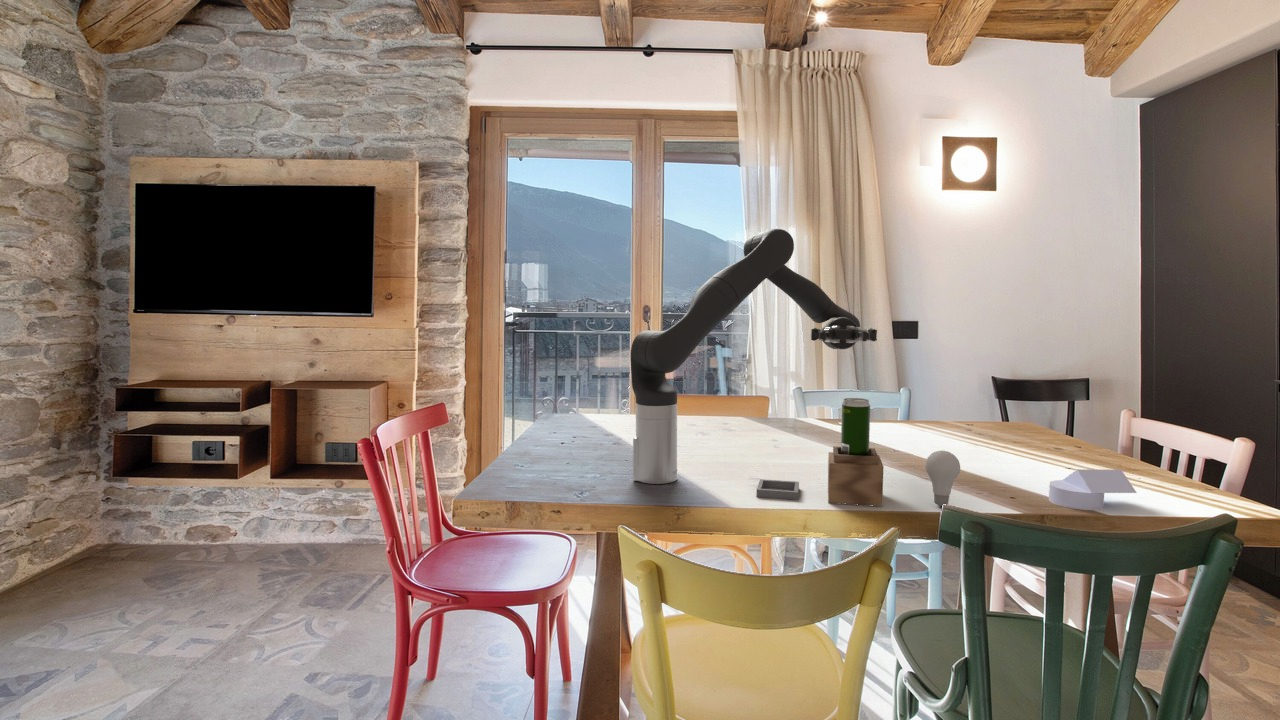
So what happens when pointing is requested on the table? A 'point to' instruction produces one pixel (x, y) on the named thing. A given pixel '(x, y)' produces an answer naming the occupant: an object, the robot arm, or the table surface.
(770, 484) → the charcoal holder
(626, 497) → the table surface
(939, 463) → the lightbulb
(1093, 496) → the wedge on round base
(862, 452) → the beer can
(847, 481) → the walnut stand
